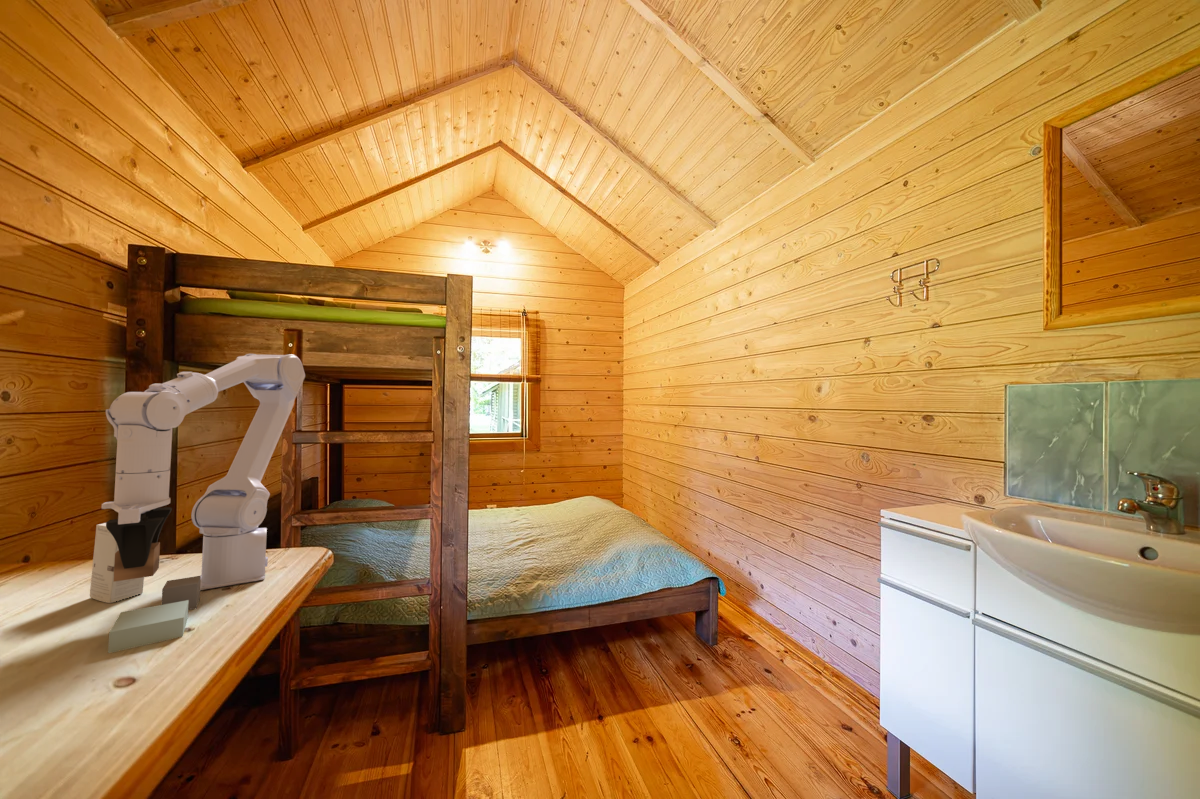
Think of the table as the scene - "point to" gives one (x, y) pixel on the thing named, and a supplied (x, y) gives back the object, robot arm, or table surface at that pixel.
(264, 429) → the robot arm
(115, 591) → the skincare box
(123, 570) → the walnut cube
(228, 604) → the table surface
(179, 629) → the base block
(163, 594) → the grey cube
